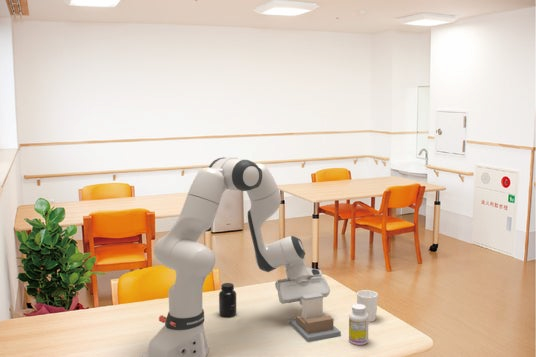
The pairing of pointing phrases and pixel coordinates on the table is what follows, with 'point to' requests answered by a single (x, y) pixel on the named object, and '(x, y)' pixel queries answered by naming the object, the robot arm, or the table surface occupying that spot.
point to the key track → (314, 335)
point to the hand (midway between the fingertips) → (309, 310)
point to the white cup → (368, 302)
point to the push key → (312, 306)
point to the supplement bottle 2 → (358, 325)
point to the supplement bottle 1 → (227, 300)
